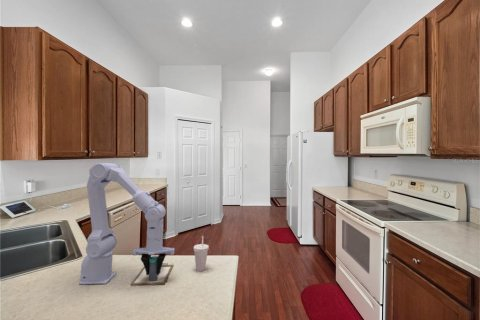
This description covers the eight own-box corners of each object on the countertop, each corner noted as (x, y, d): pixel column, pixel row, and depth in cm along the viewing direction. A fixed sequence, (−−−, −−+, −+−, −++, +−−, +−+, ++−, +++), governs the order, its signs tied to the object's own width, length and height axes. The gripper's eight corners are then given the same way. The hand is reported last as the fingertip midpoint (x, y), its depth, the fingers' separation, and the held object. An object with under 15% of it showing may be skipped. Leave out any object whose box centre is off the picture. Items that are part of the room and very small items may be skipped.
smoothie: (204, 274, 89) (206, 239, 90) (190, 272, 90) (191, 237, 91) (210, 267, 95) (211, 234, 96) (196, 265, 97) (197, 233, 97)
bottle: (147, 281, 81) (147, 259, 81) (149, 277, 84) (150, 256, 85) (156, 281, 81) (157, 259, 82) (159, 277, 85) (159, 256, 85)
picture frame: (130, 285, 79) (130, 282, 79) (145, 266, 95) (145, 263, 95) (164, 284, 80) (164, 281, 80) (173, 265, 96) (173, 262, 96)
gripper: (130, 240, 79) (129, 279, 78) (172, 240, 80) (170, 278, 80) (137, 235, 86) (136, 270, 85) (175, 234, 87) (174, 269, 87)
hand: (153, 273), depth 83 cm, fingers closed on bottle, 3 cm apart
